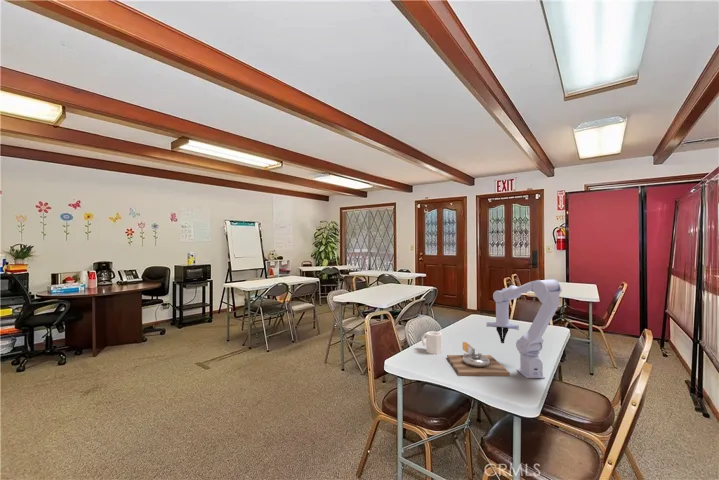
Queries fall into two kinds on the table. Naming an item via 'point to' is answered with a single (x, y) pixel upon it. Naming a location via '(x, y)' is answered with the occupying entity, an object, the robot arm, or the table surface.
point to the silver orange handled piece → (474, 357)
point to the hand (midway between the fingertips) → (502, 342)
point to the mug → (432, 342)
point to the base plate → (467, 370)
